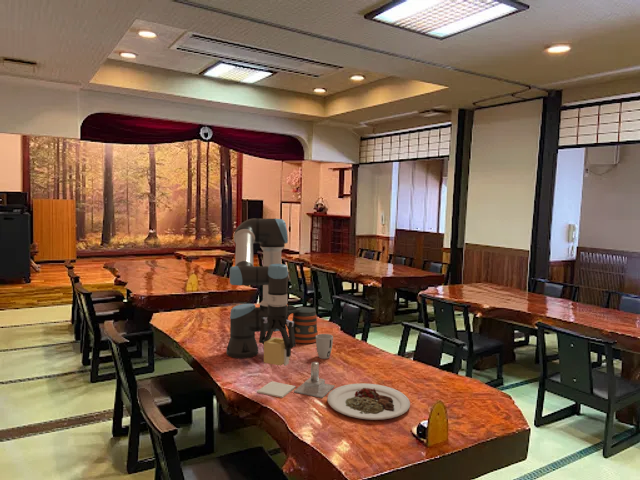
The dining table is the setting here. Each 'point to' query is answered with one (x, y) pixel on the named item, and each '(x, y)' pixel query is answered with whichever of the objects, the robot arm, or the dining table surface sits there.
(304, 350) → the dining table surface
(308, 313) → the beer stein
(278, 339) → the yellow square planter
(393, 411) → the plated food
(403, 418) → the dining table surface
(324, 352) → the cup
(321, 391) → the post stand
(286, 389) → the felt mat
